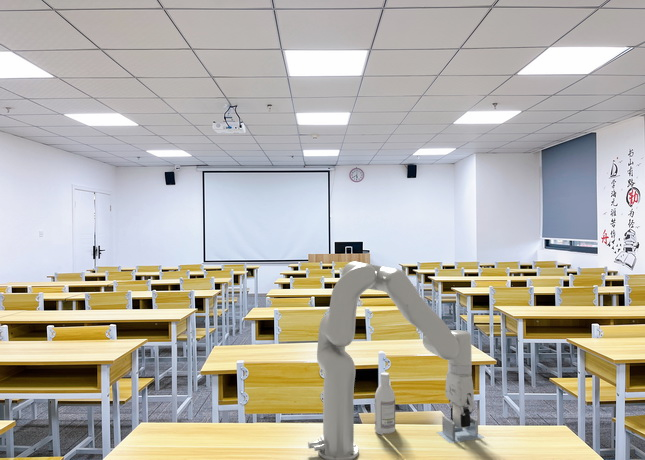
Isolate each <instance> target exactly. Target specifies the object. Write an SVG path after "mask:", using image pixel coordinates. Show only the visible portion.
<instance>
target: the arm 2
mask: <svg viewBox="0 0 645 460" xmlns="http://www.w3.org/2000/svg"><path fill="white" fill-rule="evenodd" d="M465 430H466V431H467V432H469V433H470V434H472V435H475V437H478V433H479V420H478V419H477V418H475V417H473V416H472V414H471V415H470V426H469V427H467V428H465Z"/></svg>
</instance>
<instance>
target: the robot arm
mask: <svg viewBox="0 0 645 460" xmlns="http://www.w3.org/2000/svg"><path fill="white" fill-rule="evenodd" d="M341 274H342V275H341V277H340V278H339V279H338V280H337V282H336V284H335V285H334V287H333V289H332V291H331V295H330V303H329V308H328V309H329V310H328V312H327V313H326V314H325V315H323V316H322V319H321V320H320V322H319V326H318V327H319V328H318V336H317V337H318V338H317V350H316V351H317V352H316V359H317V365H318V366H319V368H320V370H321V371H322V372H323V373H324V374H323V376H324V380H323V389H322V390H323V391H322V403H323V404H322V413H323V415H322V416H323V417H322V431H323V432H322V433H323V434H322V435H320V439H317V440H315V441H313V440H312V441H308V442H307V447H308V449H314V452H316V451H317V452H318V455H319V456H320V457H321V458H322V459H324V460H354V459H355V458H357V456H359V451H360V450H359V446H358V445H357V444H356V443H355V442H354V441H355V440H354V437H355V436H354V435H355V431H354V430H355V429H354V426H355V425H354V424H355V423H354V420H355V419H354V417H355V415H354V414H355V413H354V410H355V409H354V391H355V390H354V389H355V388H354V387H355V381H356V379H355V378H356V365H355V362H354V360H353V358H352V357H351V355H350V354H349V353H348V352H346V347H347V346H350V345H351V344H352V343H353V341H354V338H355V335H356V319H357V309H358V303H359V299H360V297H361V295H362V294H363V293H364V292H366V291H367V290H373V291H380V292H384V293H385V294H387V296H388V297H389V299H390V300H391V301H392V302H393V303H394V305H395V307H396V308H397V309H398V311H399V312H400V313H401V315H402V316H403V318H404V319H405V320H406V321H408V323H410V324H411V325H412V326H414V327H415V328H416V329H418V331H420V332H421V334H423V335H424V336H423V337H422V344H423V347H424V348H425V349H426V350H427V351H429V353H432V354H433V355H435V356H437V357H439V358H440V359H442V360H447V368H448V369H447V372H446V377H445V397H446V399H447V400H448V401H449V407H450V420H451V421H453V403H455V404H456V405H458V406H460V407H461V411H462V415H461V427H469V426H470V415H471V416H472V413H473V412H474V411H475V410H476V407H475V405H474V398H475V395H474V394H475V393H474V391H475V390H474V381H473V376H472V373H473V372H472V371H473V369H472V368H473V367H472V366H473V365H472V364H473V363H472V335H471V333H470V332H468V331H466V330H461V329H459V330H458V329H455V330H451V329H450V328H449V326H448V325H447V324H446V322H445V321H444V320H443V319H442V318H441V317H440V316H439V315H438V314H437V313H436V312H435V310H433V308H432V307H430V305H429V304H428V303H427V302H426V301H425V300H424V298H423V297H422V295H421V293H420V292H419V291H418V290H417V288H416V287H415V285H414V284H413V282H412V281H411V280H410V279H409V276H407V274H406V273H405V272H404V271H402V270H401V269H399V268H395V267H391V266H384V265H375V264H371V263H365V262H360V261H351V262H348V263H346V264H345V266H343V269H342V271H341ZM466 403H467V404H466ZM464 407H467V409H466V410H465V409H464Z"/></svg>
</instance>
